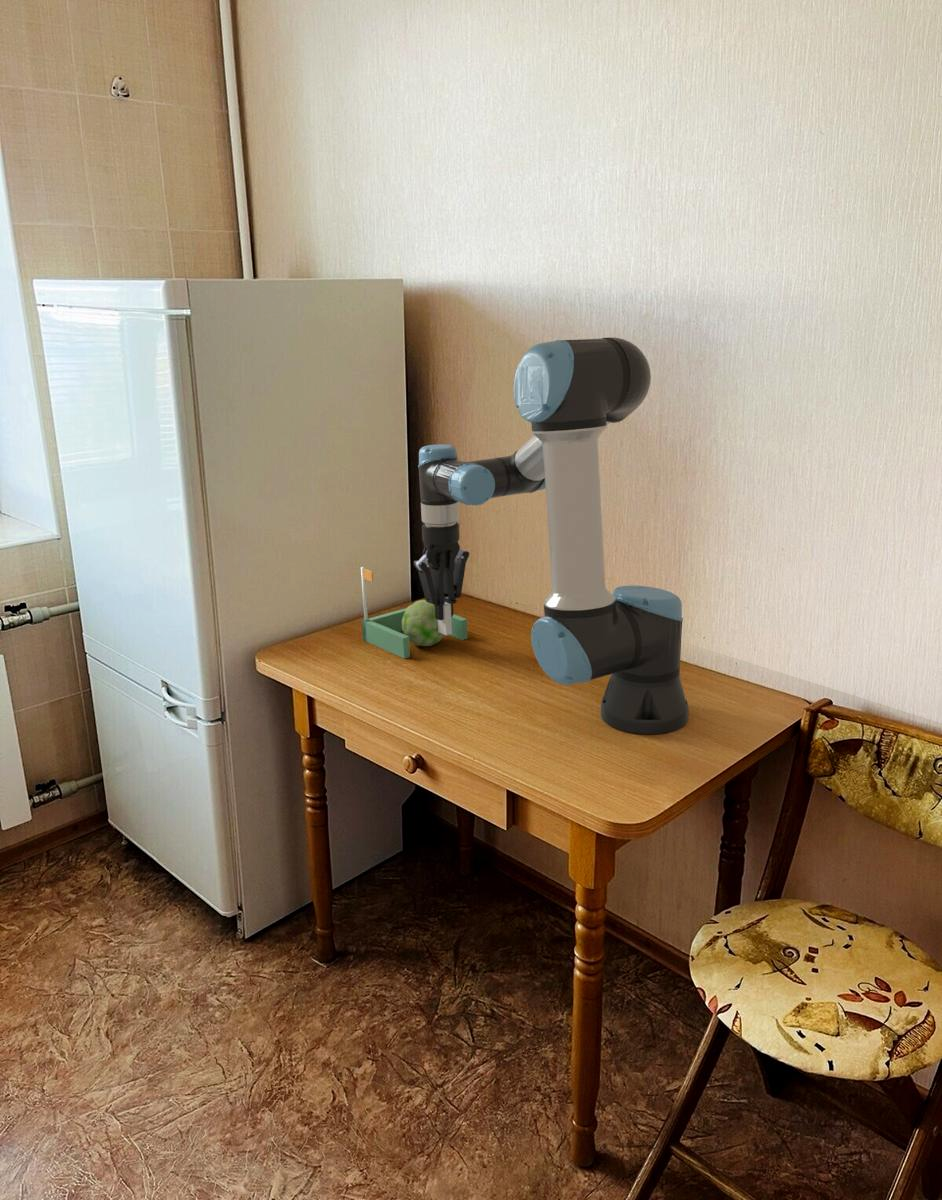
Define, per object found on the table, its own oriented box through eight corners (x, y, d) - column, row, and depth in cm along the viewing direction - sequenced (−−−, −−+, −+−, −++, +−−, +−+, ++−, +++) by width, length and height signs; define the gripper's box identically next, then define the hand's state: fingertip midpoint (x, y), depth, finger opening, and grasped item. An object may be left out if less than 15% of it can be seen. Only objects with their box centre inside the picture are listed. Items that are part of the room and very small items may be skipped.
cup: (467, 638, 208) (465, 565, 202) (404, 658, 197) (400, 582, 192) (424, 621, 219) (421, 552, 214) (362, 639, 209) (357, 567, 204)
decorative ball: (453, 650, 201) (451, 605, 198) (407, 655, 199) (404, 610, 196) (443, 634, 210) (442, 591, 207) (399, 639, 208) (396, 596, 205)
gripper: (454, 514, 198) (458, 621, 205) (403, 525, 190) (409, 636, 198) (477, 520, 193) (480, 629, 200) (425, 531, 185) (431, 645, 192)
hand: (445, 632), depth 199 cm, fingers closed
